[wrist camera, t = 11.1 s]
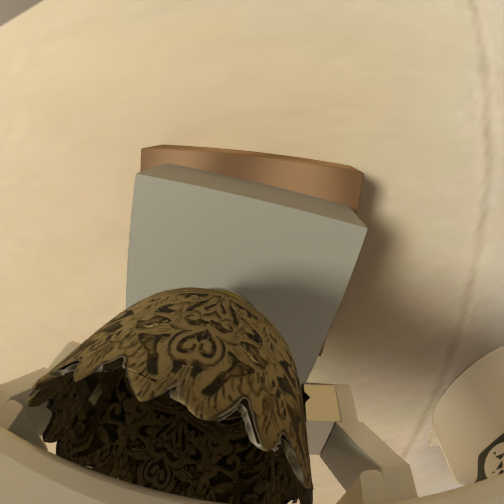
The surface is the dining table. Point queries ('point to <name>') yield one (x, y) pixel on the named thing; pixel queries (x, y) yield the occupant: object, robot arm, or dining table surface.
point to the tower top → (245, 248)
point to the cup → (187, 401)
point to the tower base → (266, 171)
